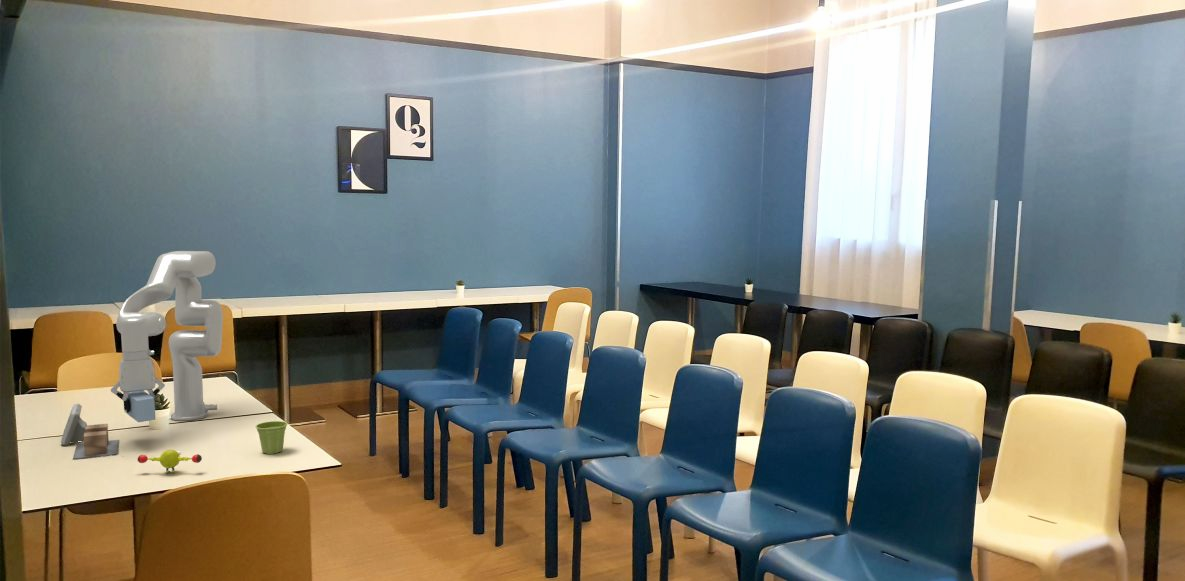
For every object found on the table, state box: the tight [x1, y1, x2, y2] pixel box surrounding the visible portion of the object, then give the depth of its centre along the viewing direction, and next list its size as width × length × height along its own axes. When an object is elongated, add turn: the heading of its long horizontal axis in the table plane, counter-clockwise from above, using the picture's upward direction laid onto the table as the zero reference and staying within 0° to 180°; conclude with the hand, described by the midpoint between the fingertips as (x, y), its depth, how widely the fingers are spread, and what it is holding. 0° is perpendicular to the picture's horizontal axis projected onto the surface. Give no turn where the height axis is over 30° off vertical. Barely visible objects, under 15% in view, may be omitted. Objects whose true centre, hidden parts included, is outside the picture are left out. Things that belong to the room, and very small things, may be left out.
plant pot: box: [255, 420, 288, 455], centre depth 277 cm, size 9×9×9 cm
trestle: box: [72, 423, 120, 460], centre depth 278 cm, size 12×18×6 cm, turn 27°
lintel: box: [122, 390, 156, 423], centre depth 283 cm, size 5×16×7 cm, turn 41°
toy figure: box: [137, 449, 203, 474], centre depth 255 cm, size 18×6×7 cm, turn 92°
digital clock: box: [60, 403, 88, 446], centre depth 289 cm, size 16×9×11 cm, turn 16°
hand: (139, 410), depth 283 cm, fingers closed on lintel, 5 cm apart
